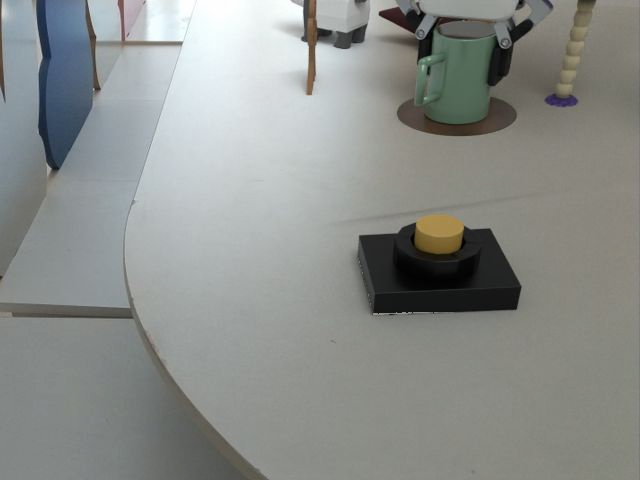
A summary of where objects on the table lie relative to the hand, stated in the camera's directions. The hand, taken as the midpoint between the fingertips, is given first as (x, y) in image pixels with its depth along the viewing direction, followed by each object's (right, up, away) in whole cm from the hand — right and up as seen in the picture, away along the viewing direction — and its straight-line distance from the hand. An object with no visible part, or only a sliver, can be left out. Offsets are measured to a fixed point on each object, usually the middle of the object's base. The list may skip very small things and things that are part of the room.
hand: (460, 76), depth 86 cm
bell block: (-10, -24, -21) cm, 34 cm away
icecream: (+5, +13, +25) cm, 29 cm away
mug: (-1, -4, +2) cm, 4 cm away
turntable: (0, -4, +3) cm, 5 cm away
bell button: (-11, -22, -23) cm, 33 cm away
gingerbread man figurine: (-14, +2, +14) cm, 20 cm away
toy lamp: (+12, -3, +3) cm, 13 cm away
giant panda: (-9, +16, +31) cm, 36 cm away
